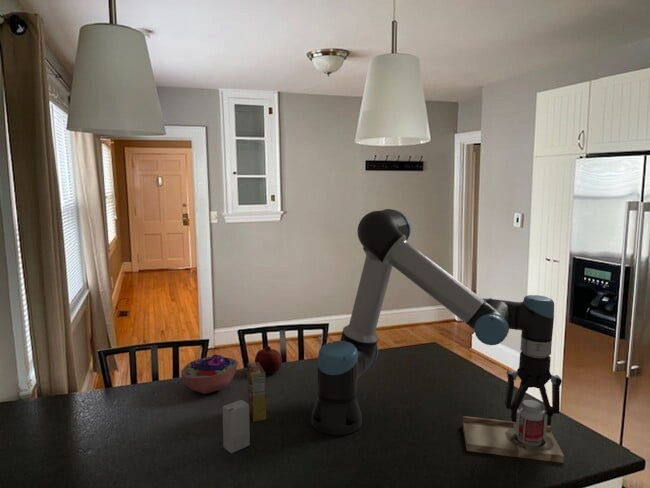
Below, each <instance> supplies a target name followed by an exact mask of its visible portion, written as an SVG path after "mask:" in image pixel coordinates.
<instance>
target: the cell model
mask: <svg viewBox="0 0 650 488" xmlns="http://www.w3.org/2000/svg"><path fill="white" fill-rule="evenodd" d="M238 364H239V362H238V361H237V360H236V359H233V358H229V357H226V356H222V355H221V354H213V355H212V356H207V357H203V358H198V359H194V360H192V361H190V362H189V363H187V364H186V365H185V366H184V367H183V368H182V370H181V371H180V373H181V380H182V383H183V384H184V385H185V386H187V387H188V388H189V389H191V390H192V391H194V392H197V393H201V394H203V395H204V394H205V395H206V394H211V393H213V392H217V391H222V390H224V389H225V388H227V386H228V385H230V383H231V382H232V380H233V379H234V377H235V375H236V374H235V373H236V371H237V367H238Z"/></svg>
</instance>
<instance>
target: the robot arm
mask: <svg viewBox="0 0 650 488" xmlns="http://www.w3.org/2000/svg"><path fill="white" fill-rule="evenodd" d="M411 227H412V226H411V222H410V221H409V219H408V217H407V216H406V215H405V214H404V213H403V212H401V211H399V210H396V209H390V208H386V209H383V210H374V211H370V212H368V213H366V214H365V215H364V216H363V217H362V218H361V219H360V220H359V223H358V225H357V238H358V240H359V243H360V245H362V249H363V251H364V253H365V260H364V264H363V266H362V267H363V268H362V272H361V275H360V279H359V283H358V287H357V291H356V296H355V300H354V303H353V307H352V311H351V316H350V320H349V324H348V325H345V326H344V327H343V328H342V332H341V337H340V340H334V341H331V342H330V341H329V342H327V343H325V344H323V345H322V346H321V347H320V349H319V350H318V355H317V359H316V361H317V362H316V364H317V365H316V366H317V398H316V401H315V403H314V406H313V409H312V411H311V412H312V413H311V422H310V423H311V425H312V427H313V428H314V429H315V430H316V431H318V432H320V433H322V434H325V435H329V436H330V435H331V436H345V435H350V434H353V433H355V432H357V431H358V430H360V428H362V425H363V423H362V422H363V421H362V418H363V415H362V412H361V409H360V406H359V402H358V399H357V398H358V397H357V385H358V382H357V381H358V379H359V378H360V377H361V376H362V375H363V374H364V373H365V372H366V371H367V370H369V369H370V368H371V367H372V366H373V364H375V362H376V360H377V357H378V354H379V346H378V341H379V335H378V334H377V332H376V330H377V327H378V322H379V319H380V316H381V315H380V314H381V311H382V307H383V303H384V300H385V295H386V292H387V289H388V284H389V281H390V277H391V273H392V271H393V268H395V270H397V271H399V272H400V273H401V274H402V275H403V276H405V277H406V278H407V279H409V280H410V281H411V282H412V283H414V284H415V285H416V286H418V288H420V289H421V290H423V291H424V292H425V293H426V294H428V295H429V296H431V297H432V298H433V299H434V300H435V301H437V302H438V303H439V304H441V306H443V307H445V309H447V310H448V311H449V312H451V313H452V314H453V315H454V316H455V317H457V318H458V319H460V320H461V321H462V322H463V323H465V324H466V325H467V326H468V327H470V329H472V330H473V331H474V334H475V337H476V338H477V340H479V342H481V343H483V345H486V346H497V345H499V344H501V343H502V342H503V341H505V339H506V337H508V334H509V332H510V330H515V331H521V336H520V349H519V350H520V353H519V363H518V366H519V367H518V368H517V370H516V371H510V370H507V371H506V376H507V382H506V383H507V384H506V388H505V389H506V390H505V398H504V405H505V408H506V409H507V410H508V409H509V410H510V421H512V422H514V432H515V434H516V435H519V423H520V411H519V410H520V409H519V408H520V406H521V405H522V402H523V399H524V396H525V394H526V393H527V391H528V390H529V388H536V389H538V390H539V393H540V396H541V400H542V403H543V407H544V410H541V412H542V414H543V430H542V437H543V438H546V430H547V426H551V424H552V417H553V416H554V414H557V415H558V414H560V411H561V410H560V408H561V407H560V397H561V396H560V391H561V390H560V387H561V385H562V382H563V380H562V378H561V377H560V376H559V375H558V374H557V375H554V374H552V373H551V372H550V371H551V370H550V369H551V360H552V358H551V356H550V355H552V344H553V343H552V342H553V334H554V321H555V301H553V299H552V298H550V297H548V296H544V295H534V294H533V295H532V294H529V295H525V296H524V297H523V299H522V300H523V301H512V300H511V301H510V300H505V299H504V300H503V299H496V298H495V299H493V298H492V297H491V298H482V297H481V296H480V295H478V294H477V293H475V292H474V291H473V290H472V289H470V288H469V287H467V286H466V285H465V284H463V282H461V281H459V280H458V279H457V278H456V277H455V276H453V275H452V274H450V273H449V272H448V271H446V269H444V268H443V267H441V266H440V265H438V264H437V263H436V262H434V261H433V260H432V259H431V258H429V257H428V256H426V254H424V253H423V252H422V251H420V250H419V249H417V248H416V247H414V245H412V244H411V243H410V242H408V240H409V238H410V236H411V232H412V231H411V229H412V228H411ZM517 378H519V379H520V383H519V386H518V389H517V390H516V393H515V395H514V398H513V393H514V387H515V381H516V380H517ZM549 381H550V382H551V395H552V396H551V397H552V398H551V399H552V400H551V404H552V405H550V401H549V397H548V393H547V389H546V384H547V383H548V382H549Z"/></svg>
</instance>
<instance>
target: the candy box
mask: <svg viewBox="0 0 650 488" xmlns="http://www.w3.org/2000/svg"><path fill="white" fill-rule="evenodd" d="M246 369H247V370H246V371H247V397H248V398H247V401H248V402H247V404H249V414H250V416H251V418H252V422H253V423H254V422H255V423H256V422H260V421H265V420H267V400H266V399H267V395H266V394H267V393H266V389H267V388H266V385H267V384H266V373H265V372H264V370H263V368H262V366H261V365H260V363H259V362H255V361H254V362H248V363H247V364H246Z"/></svg>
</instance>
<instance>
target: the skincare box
mask: <svg viewBox="0 0 650 488" xmlns="http://www.w3.org/2000/svg"><path fill="white" fill-rule="evenodd" d="M250 428H251V427H250V410H249V404H248V402H246V401H244V400H242V399H240V400H236V401H234V402H231V403H228V404H226V405H223V406H222V432H223V433H222V437H223V438H222V439H223V440H222V443H223V448H224V449H225V450H226V451H227V452H229V453H230V454H234V453H236V452H238V451H240V450H242V449H245V448H246V447H249V446H250V445H251V441H250V440H251V439H250V438H251V436H250V435H251V434H250V433H251V432H250Z"/></svg>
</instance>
